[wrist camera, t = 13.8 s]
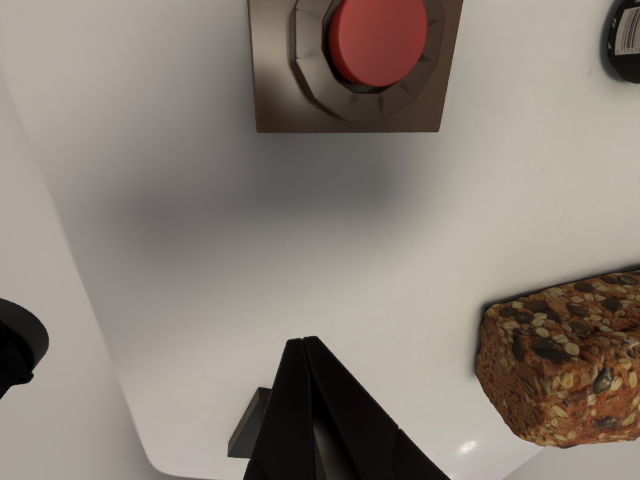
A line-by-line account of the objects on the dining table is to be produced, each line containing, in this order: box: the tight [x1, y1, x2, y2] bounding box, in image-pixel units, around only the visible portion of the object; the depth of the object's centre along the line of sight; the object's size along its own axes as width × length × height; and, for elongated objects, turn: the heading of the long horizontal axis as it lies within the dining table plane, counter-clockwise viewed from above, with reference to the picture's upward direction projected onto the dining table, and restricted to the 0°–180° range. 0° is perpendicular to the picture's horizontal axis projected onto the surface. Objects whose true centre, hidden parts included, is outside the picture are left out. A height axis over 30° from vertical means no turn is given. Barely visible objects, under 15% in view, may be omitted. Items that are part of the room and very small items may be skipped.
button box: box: [248, 0, 463, 133], centre depth 15 cm, size 10×8×4 cm
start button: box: [328, 0, 427, 87], centre depth 12 cm, size 4×4×2 cm
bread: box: [475, 270, 640, 449], centre depth 26 cm, size 19×11×10 cm, turn 98°
